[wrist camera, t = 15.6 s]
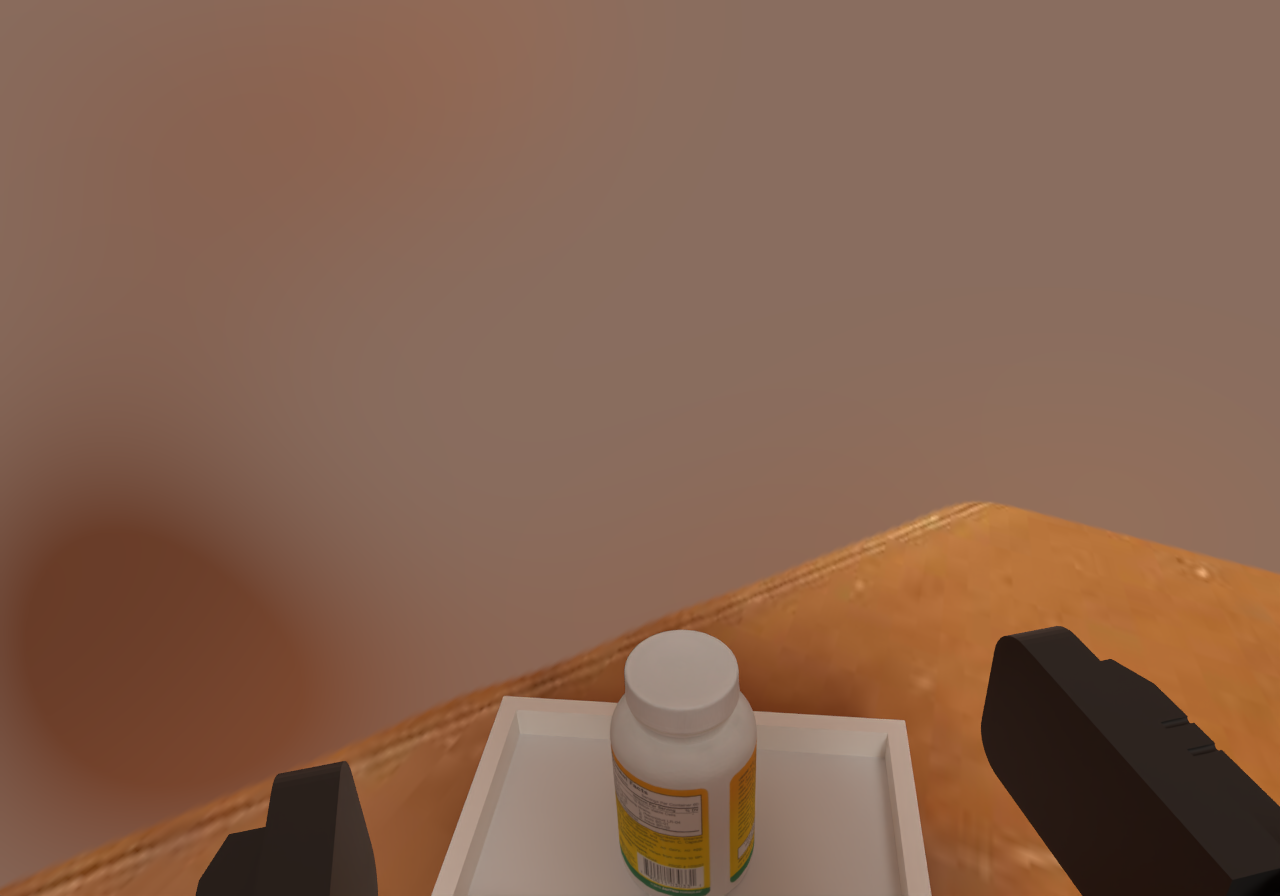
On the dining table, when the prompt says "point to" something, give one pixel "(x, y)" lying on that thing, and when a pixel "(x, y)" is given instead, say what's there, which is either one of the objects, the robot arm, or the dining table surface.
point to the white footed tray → (784, 808)
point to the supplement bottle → (684, 767)
